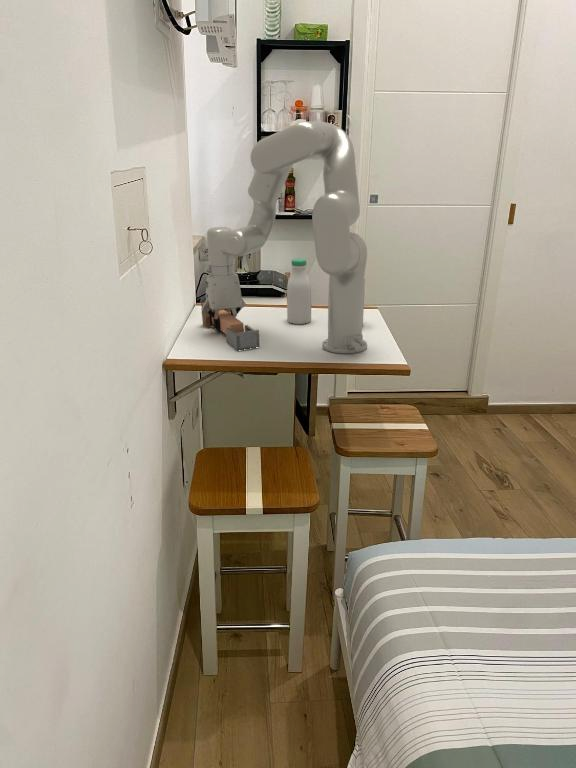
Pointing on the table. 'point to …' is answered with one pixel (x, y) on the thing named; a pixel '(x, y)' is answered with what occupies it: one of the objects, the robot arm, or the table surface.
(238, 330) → the bar
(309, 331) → the table surface
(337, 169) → the robot arm
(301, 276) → the milk bottle
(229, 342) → the channel
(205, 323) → the socket
